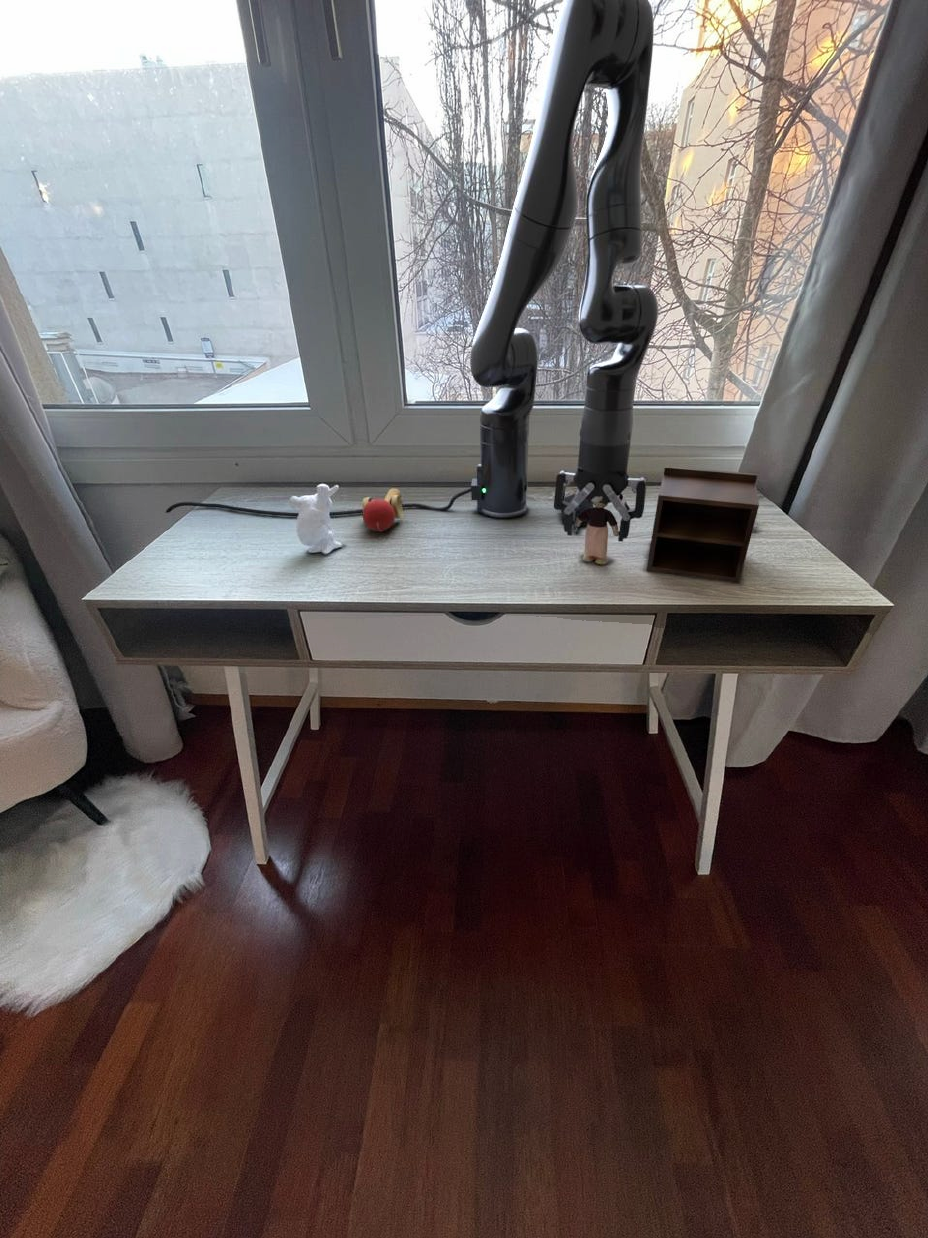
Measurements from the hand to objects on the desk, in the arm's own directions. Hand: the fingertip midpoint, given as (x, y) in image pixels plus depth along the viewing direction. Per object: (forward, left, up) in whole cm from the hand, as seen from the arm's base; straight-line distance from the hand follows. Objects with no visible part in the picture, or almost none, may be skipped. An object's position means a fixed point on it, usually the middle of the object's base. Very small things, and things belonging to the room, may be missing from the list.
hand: (595, 536), depth 98 cm
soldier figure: (+23, +23, -4) cm, 33 cm away
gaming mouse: (-6, +17, -4) cm, 19 cm away
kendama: (-42, +6, -4) cm, 43 cm away
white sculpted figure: (-46, -11, -4) cm, 48 cm away
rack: (+16, +4, -4) cm, 17 cm away
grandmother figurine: (0, 0, -4) cm, 4 cm away
